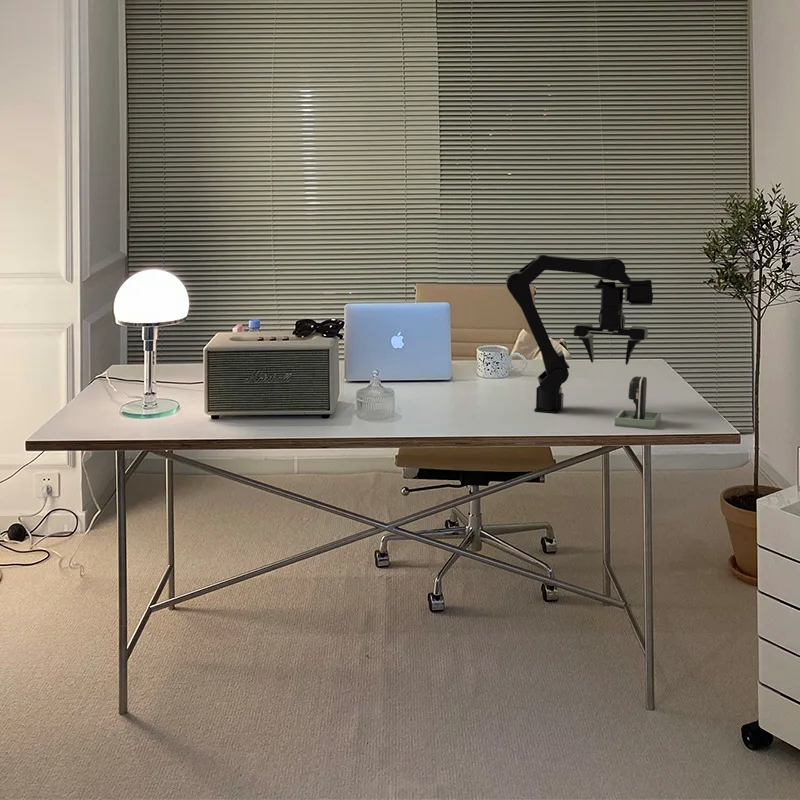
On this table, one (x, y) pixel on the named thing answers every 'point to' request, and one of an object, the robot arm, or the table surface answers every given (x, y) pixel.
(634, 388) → the dark grey curved piece
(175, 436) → the table surface
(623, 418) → the tray
